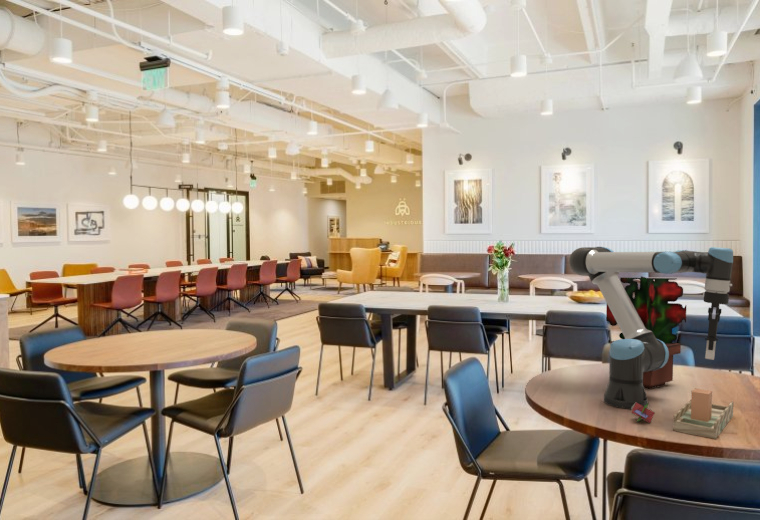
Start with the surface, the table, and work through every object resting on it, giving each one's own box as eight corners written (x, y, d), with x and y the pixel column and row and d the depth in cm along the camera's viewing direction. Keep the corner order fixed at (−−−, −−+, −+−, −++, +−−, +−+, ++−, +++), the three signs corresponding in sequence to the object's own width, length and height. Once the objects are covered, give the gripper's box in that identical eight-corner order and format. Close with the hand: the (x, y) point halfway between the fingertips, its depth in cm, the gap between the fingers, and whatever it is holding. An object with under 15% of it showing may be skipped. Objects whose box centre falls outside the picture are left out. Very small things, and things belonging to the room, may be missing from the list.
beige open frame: (715, 439, 180) (716, 423, 180) (673, 430, 188) (673, 415, 187) (733, 415, 203) (733, 401, 203) (694, 409, 210) (695, 395, 210)
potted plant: (684, 386, 243) (687, 278, 241) (653, 393, 231) (656, 280, 229) (635, 375, 261) (638, 275, 259) (605, 382, 249) (607, 277, 247)
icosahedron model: (662, 416, 195) (647, 395, 198) (656, 421, 190) (641, 399, 193) (644, 425, 199) (630, 404, 202) (637, 430, 194) (623, 408, 197)
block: (708, 421, 187) (708, 394, 187) (690, 418, 190) (691, 391, 190) (711, 418, 191) (712, 391, 191) (694, 415, 194) (695, 388, 194)
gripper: (728, 294, 194) (721, 363, 196) (729, 292, 205) (722, 357, 207) (703, 291, 198) (696, 359, 200) (705, 289, 209) (698, 354, 211)
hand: (709, 358), depth 203 cm, fingers closed
